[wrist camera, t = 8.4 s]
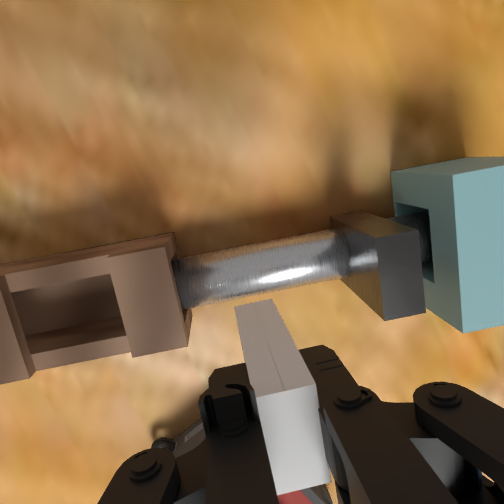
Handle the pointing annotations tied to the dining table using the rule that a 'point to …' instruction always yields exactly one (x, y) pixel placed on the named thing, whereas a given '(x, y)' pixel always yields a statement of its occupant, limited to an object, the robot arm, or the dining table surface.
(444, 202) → the socket
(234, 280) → the rod
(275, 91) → the dining table surface
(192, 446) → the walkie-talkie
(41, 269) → the sleeve
